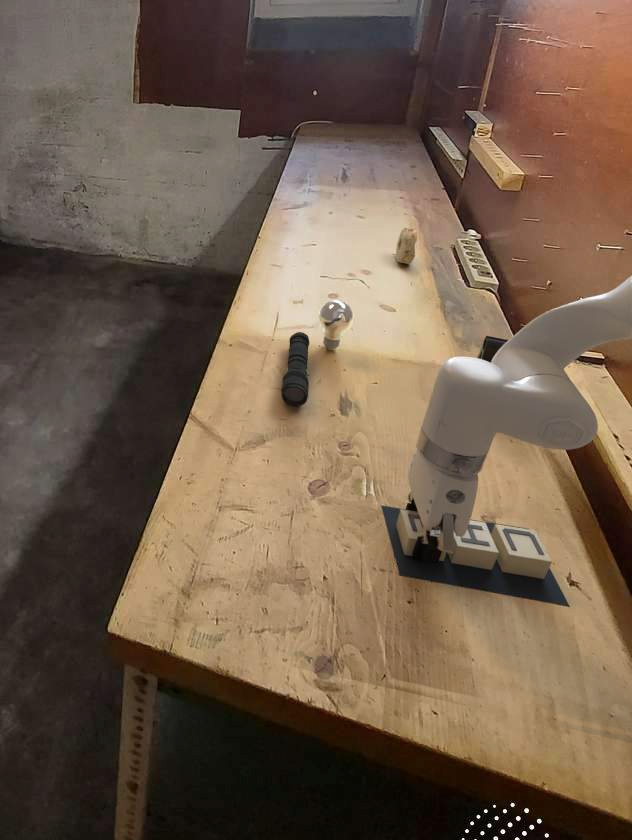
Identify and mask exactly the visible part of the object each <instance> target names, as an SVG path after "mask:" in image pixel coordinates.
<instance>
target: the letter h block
mask: <svg viewBox="0 0 632 840" xmlns="http://www.w3.org/2000/svg"><path fill="white" fill-rule="evenodd" d="M473 520H474V519H470V521H469V525H468V528H467V530H466V533H465V535H464V536H462V537H460V536H456V534H455V532H454V529H453V532H454V550H453V553H448V555H449V558H450V561H451V563H455V564H461V565H466V566H472V567H478V568H484V569H489V570H492V568H493V566H494V563H495V561H496V559H497V556H498V554H499V552H498V550H497V548H496V545H495V543H494V541H493V539H492V536H491V534H490V532H489V530H488V527H487V525H486V523H485V522H486V521H483V522H479V521H480V520H477V521H473Z"/></svg>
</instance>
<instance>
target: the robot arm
mask: <svg viewBox="0 0 632 840" xmlns="http://www.w3.org/2000/svg"><path fill="white" fill-rule="evenodd" d="M507 340H508V341H507V342H506V343H505V344H504V345H503V346H502V347H501V348H500V349H499V350H498V352H497V353H496V354H495V356H494V357H493V359H492V361H491V363H490V362H488V361H485V360H482V359H479V358H477V357H474V356H464V355H461V356H454V357H450V358H448V359H446V360H445V361H444V362H442V364H440V366H439V368H438V371H437V374H436V376H435V380H434V384H433V388H432V392H431V394H430V397H429V401H428V404H427V407H426V410H425V414H424V417H423V420H422V424H421V427H420V430H419V434H418V437H417V441H416V443H415V447H416V450H415V452H414V454H413V457H412V460H411V463H410V467H409V470H408V477H407V479H408V486H409V489H410V491H409V493H408V495H407V500H408V502H406V506H405V508H404V509H405V510H409V511H416V512H418V513H419V516H420V519H421V521H422V524H423V530H422V536H418V538H417V541H416V544H415V547H414V550H413V553H412V556H413V558H414V559H416V560H421V561H426V562H433V563H438V562H439V559H440V556H441V554H442V551H443V552H448V553H453V550H454V532H455V534H456V536H460V537H462V536H464V535H465V533H466V530H467V528H468V525H469V521H470V520H471V518H472V514H473V511H474V507H475V504H476V499H477V494H478V493H477V492H478V486H479V475H478V474H480V473H481V471H482V470H483V467H484V465H485V462H486V459H487V456H488V455H489V454H488V453H489V451H490V449H491V446H492V445H493V441H494V438H495V436H496V433H498V434H501V435H504V436H507V437H511V438H513V439H515V440H518V441H519V440H520V441H522V442H525V443H526V444H527V443H528V444H531V445H534V446H536V447H541V448H545V449H549V450H557V451H558V450H559V451H569V450H576V449H580V448H583V447H584V446H586V445H588V444H590V443H591V442H592V441H593V440H594V439H595V437H596V436H597V433H598V429H599V424H598V418H597V416H596V414H595V412H594V410H593V408H592V406H591V405H590V403H589V402H588V400H586V398H585V397H584V395H583V394H582V393H581V392H580V390H579V389H578V388H577V386H576V385H575V383H574V382H573V380H571V378H570V377H569V375H568V374H567V373H566V371H565V370H564V369H565V368H566V367H568V366H569V365H570V364H572V363H573V362H574V361H575V360H577V359H579V357H581V356H582V355H583V354H585V353H586V352H588V351H590V350H592V349H594V348H596V347H598V346H600V345H604V344H607V343H611V342H614V341H623V340H625V341H626V340H627V341H628V340H632V275H630V276H629V277H628V278H627V279H626V280H624V281H623V282H622V283H620V284H619V285H618V286H617V287H615V288H614V289H612V290H610V291H608V292H605V293H602V294H599V295H594V296H588V297H584V298H581V299H579V300H575V301H571V302H569V303H566V304H563V305H561V306H558V307H555V308H552V309H549V310H547V311H545V312H543V313H541V314H540V315H538V316H536V317H535V318H534V319H532V320H531V321H529V322H528V323H527V324H526V325H524V326H523V327H522V328H521V329H520V330H519V331H517V332H516V333H515V334H514V335H512V337H510V338H509V339H507ZM433 529H434V530H440V536H439V537H436V536H431V535H430V531H431V530H433ZM453 529H454V532H453Z"/></svg>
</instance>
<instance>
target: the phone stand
mask: <svg viewBox="0 0 632 840" xmlns="http://www.w3.org/2000/svg"><path fill="white" fill-rule="evenodd" d="M508 340H509V339H505V338H501V337H496V336H490V335H486V336H485V337H484V339H483V343H482V345H481V348H480V350H479V353H478V354H477V357H476V358H479V359H482V360H485V361H488V362H490V363H491V361H492V359H493V357H494V356H495V354H496V353H497V352H498V350H499V349H500V348H501V347H502V346H503V345H504V344H505V343H506V342H507V341H508Z"/></svg>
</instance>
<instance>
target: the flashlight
mask: <svg viewBox="0 0 632 840" xmlns="http://www.w3.org/2000/svg"><path fill="white" fill-rule="evenodd" d="M309 346H310V338H309V335H308V334H307V333H305V332H302V331H297V332H295V333H294V334H292V335H291V336H290V337H289V348H288V354H287V362H286V368H287V371H286V372H285V374H284V375H283V377H282V382H281V390H280V393H281V394H280V395H281V399H282V400H283V402H284V403H285V404H287V405H288V406H291V407H298V406H300V407H301V406H303V405H305V404H306V403H307V401H308V399H309V390H310V383H309V382H310V381H309V378H308V364H309V363H308V362H309Z"/></svg>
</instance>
